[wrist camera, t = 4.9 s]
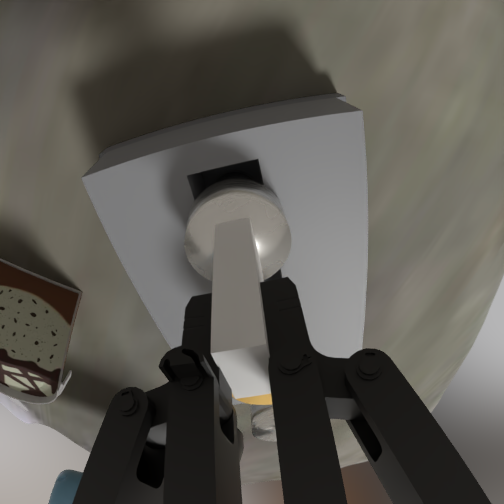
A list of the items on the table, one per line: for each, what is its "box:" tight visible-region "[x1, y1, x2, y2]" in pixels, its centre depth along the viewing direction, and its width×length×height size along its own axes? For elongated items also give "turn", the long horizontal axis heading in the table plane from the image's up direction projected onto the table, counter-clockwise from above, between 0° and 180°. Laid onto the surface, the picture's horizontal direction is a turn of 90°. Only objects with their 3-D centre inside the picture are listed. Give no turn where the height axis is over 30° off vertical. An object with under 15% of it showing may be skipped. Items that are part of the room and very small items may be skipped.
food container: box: [0, 258, 82, 404], centre depth 21 cm, size 12×6×10 cm, turn 64°
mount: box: [82, 93, 368, 405], centre depth 22 cm, size 15×23×6 cm, turn 12°
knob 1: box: [184, 171, 292, 282], centre depth 17 cm, size 5×5×6 cm
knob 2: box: [250, 404, 277, 441], centre depth 22 cm, size 5×5×6 cm
